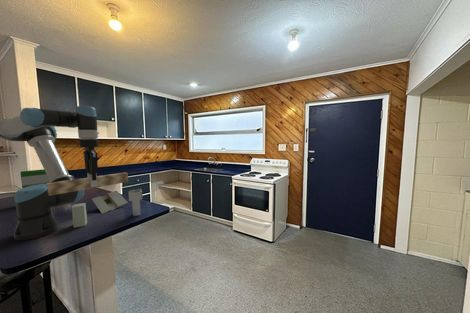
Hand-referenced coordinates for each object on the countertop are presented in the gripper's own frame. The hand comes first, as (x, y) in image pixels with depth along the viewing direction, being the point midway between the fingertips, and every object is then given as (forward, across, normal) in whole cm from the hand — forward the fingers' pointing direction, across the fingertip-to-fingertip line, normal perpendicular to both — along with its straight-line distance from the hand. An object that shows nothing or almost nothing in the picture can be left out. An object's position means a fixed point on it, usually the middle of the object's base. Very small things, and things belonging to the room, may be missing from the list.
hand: (92, 186), depth 96 cm
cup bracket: (+23, +3, -21) cm, 31 cm away
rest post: (+23, +13, +4) cm, 26 cm away
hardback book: (+23, +83, +11) cm, 87 cm away
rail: (+1, 0, 0) cm, 1 cm away
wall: (+23, +29, -16) cm, 41 cm away
